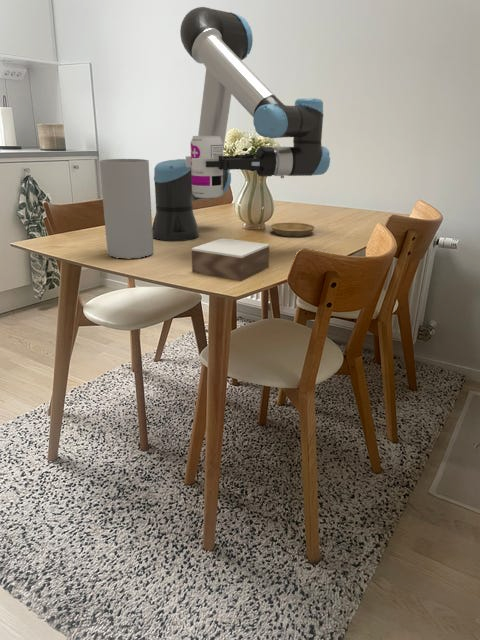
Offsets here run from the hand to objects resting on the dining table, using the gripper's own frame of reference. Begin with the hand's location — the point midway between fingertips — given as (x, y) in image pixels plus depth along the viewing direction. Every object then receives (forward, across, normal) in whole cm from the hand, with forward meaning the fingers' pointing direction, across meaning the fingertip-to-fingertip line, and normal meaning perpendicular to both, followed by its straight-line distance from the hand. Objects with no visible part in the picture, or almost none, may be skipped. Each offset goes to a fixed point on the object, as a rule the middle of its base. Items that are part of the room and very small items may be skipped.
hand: (189, 162), depth 130 cm
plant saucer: (-39, +24, -25) cm, 52 cm away
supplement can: (-5, 0, -9) cm, 10 cm away
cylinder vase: (+16, +7, -25) cm, 30 cm away
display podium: (-7, -15, -25) cm, 30 cm away
